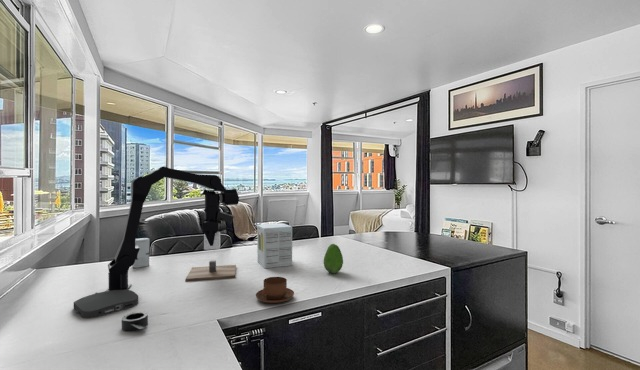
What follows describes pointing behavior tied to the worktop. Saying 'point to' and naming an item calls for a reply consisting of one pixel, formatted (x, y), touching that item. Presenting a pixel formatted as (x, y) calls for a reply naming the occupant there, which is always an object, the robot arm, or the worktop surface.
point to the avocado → (333, 259)
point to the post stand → (211, 272)
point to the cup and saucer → (275, 290)
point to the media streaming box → (105, 303)
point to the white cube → (215, 245)
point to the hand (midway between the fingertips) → (212, 244)
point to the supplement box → (274, 245)
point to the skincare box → (142, 252)
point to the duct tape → (134, 321)
